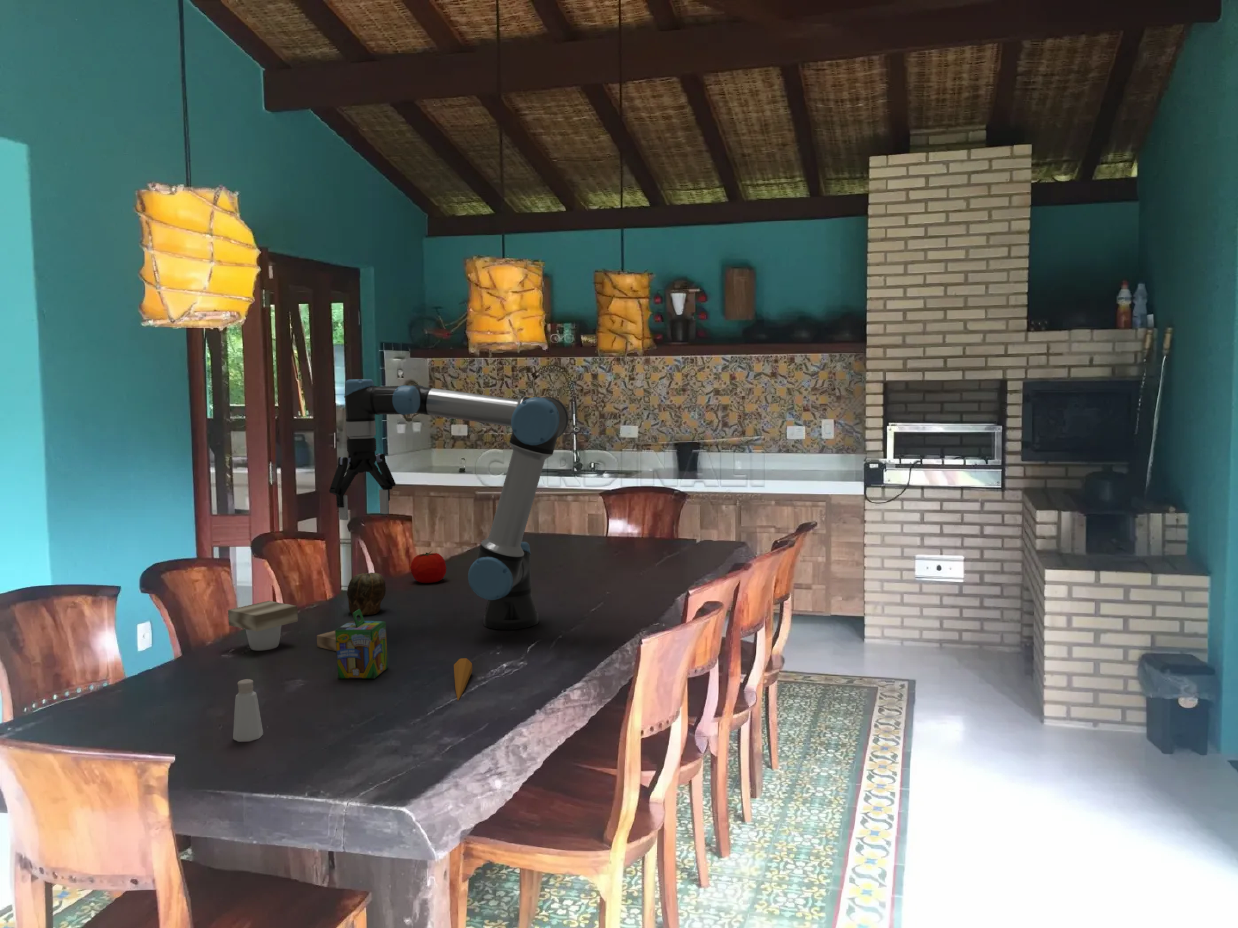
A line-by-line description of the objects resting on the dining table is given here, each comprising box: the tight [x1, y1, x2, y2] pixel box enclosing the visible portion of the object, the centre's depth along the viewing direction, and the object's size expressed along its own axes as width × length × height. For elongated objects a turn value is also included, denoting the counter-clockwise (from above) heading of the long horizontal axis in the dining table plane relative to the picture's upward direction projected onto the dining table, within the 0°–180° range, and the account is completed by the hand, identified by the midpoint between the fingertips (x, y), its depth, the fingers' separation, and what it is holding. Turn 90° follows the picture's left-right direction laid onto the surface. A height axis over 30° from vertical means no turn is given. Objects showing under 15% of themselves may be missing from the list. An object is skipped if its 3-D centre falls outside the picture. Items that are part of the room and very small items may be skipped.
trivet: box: [316, 630, 336, 652], centre depth 249 cm, size 9×9×3 cm
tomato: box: [410, 551, 447, 584], centre depth 326 cm, size 12×12×10 cm
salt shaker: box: [232, 678, 264, 743], centre depth 185 cm, size 5×5×11 cm
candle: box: [245, 625, 282, 652], centre depth 249 cm, size 9×9×6 cm
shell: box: [346, 572, 387, 617], centre depth 284 cm, size 11×11×12 cm
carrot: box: [453, 657, 473, 701], centre depth 213 cm, size 20×4×4 cm, turn 6°
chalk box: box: [334, 609, 389, 680], centre depth 224 cm, size 9×9×15 cm
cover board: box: [227, 600, 299, 631], centre depth 248 cm, size 12×12×4 cm
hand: (364, 516), depth 258 cm, fingers open, 13 cm apart
